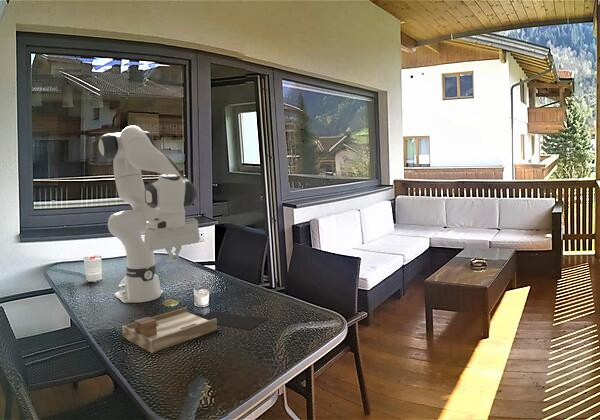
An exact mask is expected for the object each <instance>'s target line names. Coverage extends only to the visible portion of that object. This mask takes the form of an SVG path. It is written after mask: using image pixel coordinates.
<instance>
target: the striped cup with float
mask: <svg viewBox="0 0 600 420" xmlns="http://www.w3.org/2000/svg"><path fill="white" fill-rule="evenodd" d="M83 262H84V271H85V277H86V281H87V280H88V281H96V280H100V279H102V280H103V267H102V266H103V265H102V255H90V256H86V257H85V256H84V257H83Z"/></svg>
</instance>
